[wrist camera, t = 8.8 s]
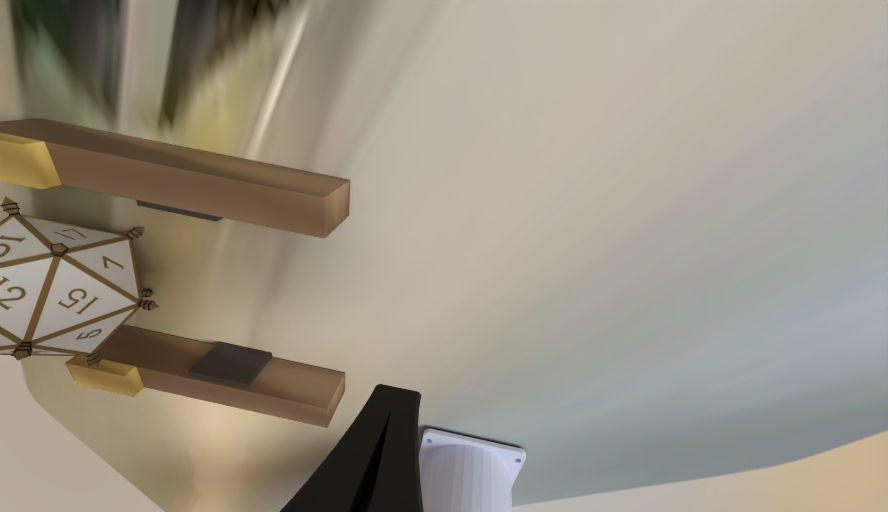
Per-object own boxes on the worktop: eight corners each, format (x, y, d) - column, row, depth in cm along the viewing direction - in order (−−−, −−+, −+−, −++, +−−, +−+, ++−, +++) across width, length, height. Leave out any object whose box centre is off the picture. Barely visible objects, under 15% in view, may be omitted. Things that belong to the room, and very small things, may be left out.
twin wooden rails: (344, 391, 25) (321, 439, 21) (131, 344, 25) (76, 384, 22) (349, 180, 17) (315, 203, 14) (40, 118, 18) (-65, 126, 14)
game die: (174, 253, 25) (29, 363, 21) (54, 157, 19) (-188, 284, 15) (227, 291, 21) (55, 445, 16) (90, 181, 15) (-249, 378, 10)
